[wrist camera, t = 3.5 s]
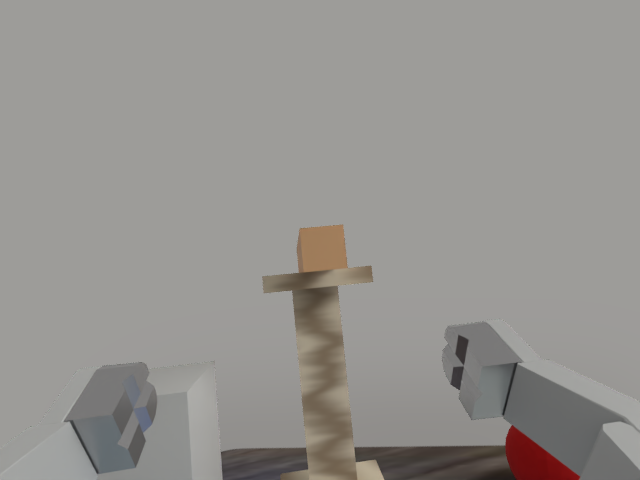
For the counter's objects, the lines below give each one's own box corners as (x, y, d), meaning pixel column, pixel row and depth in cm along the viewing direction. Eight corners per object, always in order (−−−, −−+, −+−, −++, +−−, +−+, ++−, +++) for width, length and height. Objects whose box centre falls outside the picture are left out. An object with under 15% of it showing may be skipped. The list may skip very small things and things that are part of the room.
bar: (303, 272, 23) (299, 228, 23) (299, 272, 43) (296, 249, 43) (347, 268, 23) (343, 224, 23) (322, 270, 43) (320, 246, 43)
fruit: (504, 515, 34) (490, 411, 35) (519, 468, 41) (507, 383, 42) (627, 556, 28) (607, 431, 29) (621, 494, 35) (604, 394, 36)
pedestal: (68, 635, 26) (61, 407, 28) (129, 535, 36) (122, 372, 38) (200, 611, 27) (187, 391, 29) (225, 520, 37) (214, 361, 39)
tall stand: (276, 592, 28) (251, 277, 30) (281, 486, 42) (264, 276, 44) (416, 566, 29) (381, 264, 31) (376, 472, 43) (354, 267, 45)
